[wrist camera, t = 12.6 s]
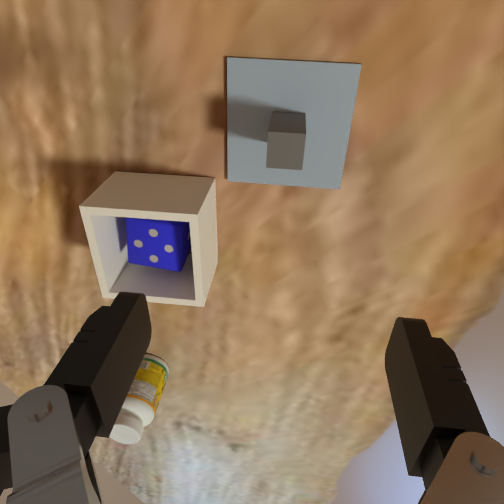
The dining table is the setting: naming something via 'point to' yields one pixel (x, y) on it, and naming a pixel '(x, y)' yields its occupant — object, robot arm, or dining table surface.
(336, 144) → the lid
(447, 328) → the dining table surface
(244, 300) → the dining table surface
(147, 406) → the supplement bottle
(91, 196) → the box
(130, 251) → the die
